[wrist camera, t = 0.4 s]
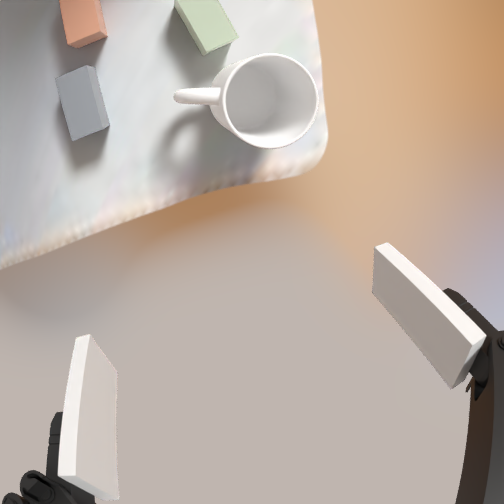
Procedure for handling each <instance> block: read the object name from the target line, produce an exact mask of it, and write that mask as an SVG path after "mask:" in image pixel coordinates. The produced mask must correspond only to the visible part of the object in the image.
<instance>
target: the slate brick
mask: <svg viewBox="0 0 504 504" xmlns="http://www.w3.org/2000/svg"><path fill="white" fill-rule="evenodd" d="M55 80H56V84H57V88H58V92H59V96H60V100H61V104H62V108H63V111H64V115H65V119H66V122H67V125H68V129H69V132H70V136H71V139H72V141H74V140H77V139H79V138H82V137H84V136H87V135H89V134H92V133H95V132H97V131H100V130H102V129H104V128H106V127H108V126H109V125H110V123H109V119H108V116H107V112H106V108H105V105H104V101H103V97H102V93H101V89H100V85H99V81H98V77H97V73H96V69H95V67H92V66H89V65H85V66H83V67H80V68H78V69H76V70H73V71H71V72H69V73H66V74H64V75H62V76H60V77H58V78H55Z"/></svg>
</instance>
